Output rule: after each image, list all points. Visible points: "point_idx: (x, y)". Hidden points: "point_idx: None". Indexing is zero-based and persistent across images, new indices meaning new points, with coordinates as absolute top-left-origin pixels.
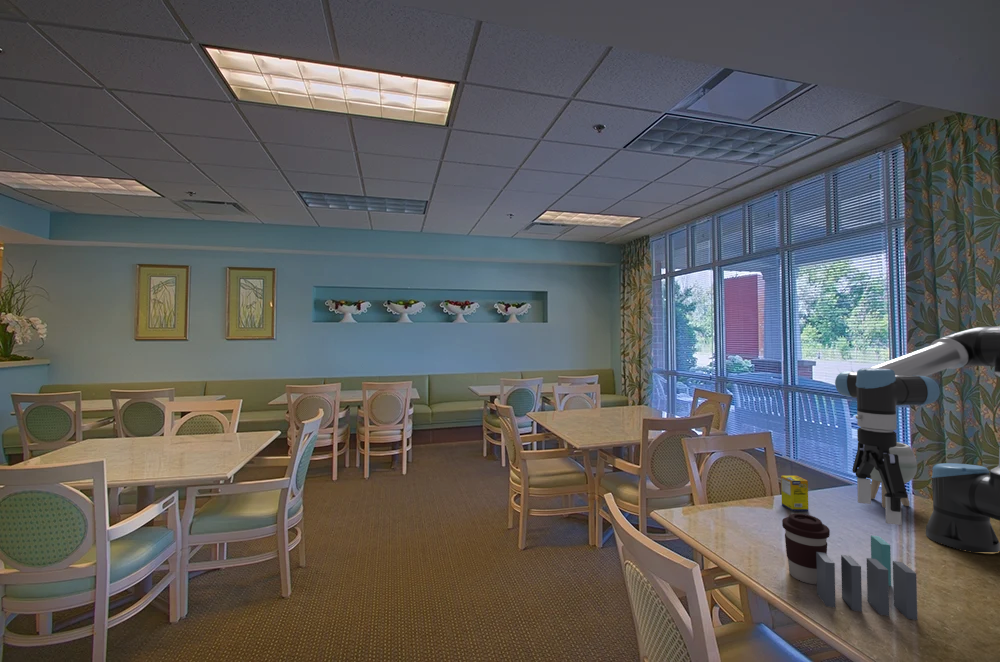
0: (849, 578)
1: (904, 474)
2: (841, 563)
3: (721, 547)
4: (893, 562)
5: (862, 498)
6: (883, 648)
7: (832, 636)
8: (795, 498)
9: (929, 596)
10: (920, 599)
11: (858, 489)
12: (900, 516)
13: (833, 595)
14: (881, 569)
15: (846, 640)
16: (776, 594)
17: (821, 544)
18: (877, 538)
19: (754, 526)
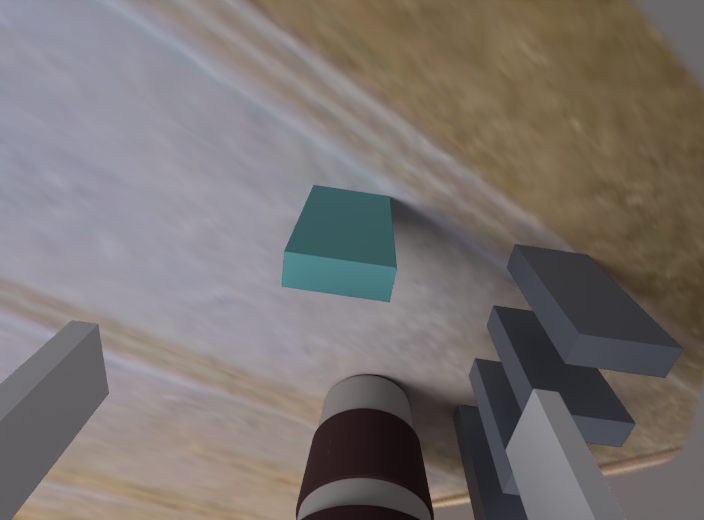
0: None
1: None
2: (495, 462)
3: (233, 512)
4: (569, 361)
5: (77, 404)
6: (679, 405)
7: (622, 468)
8: None
9: (452, 103)
10: (473, 155)
11: (18, 500)
12: (585, 452)
13: None
14: (624, 438)
15: (639, 453)
16: (460, 492)
17: (428, 514)
18: (316, 276)
19: None
